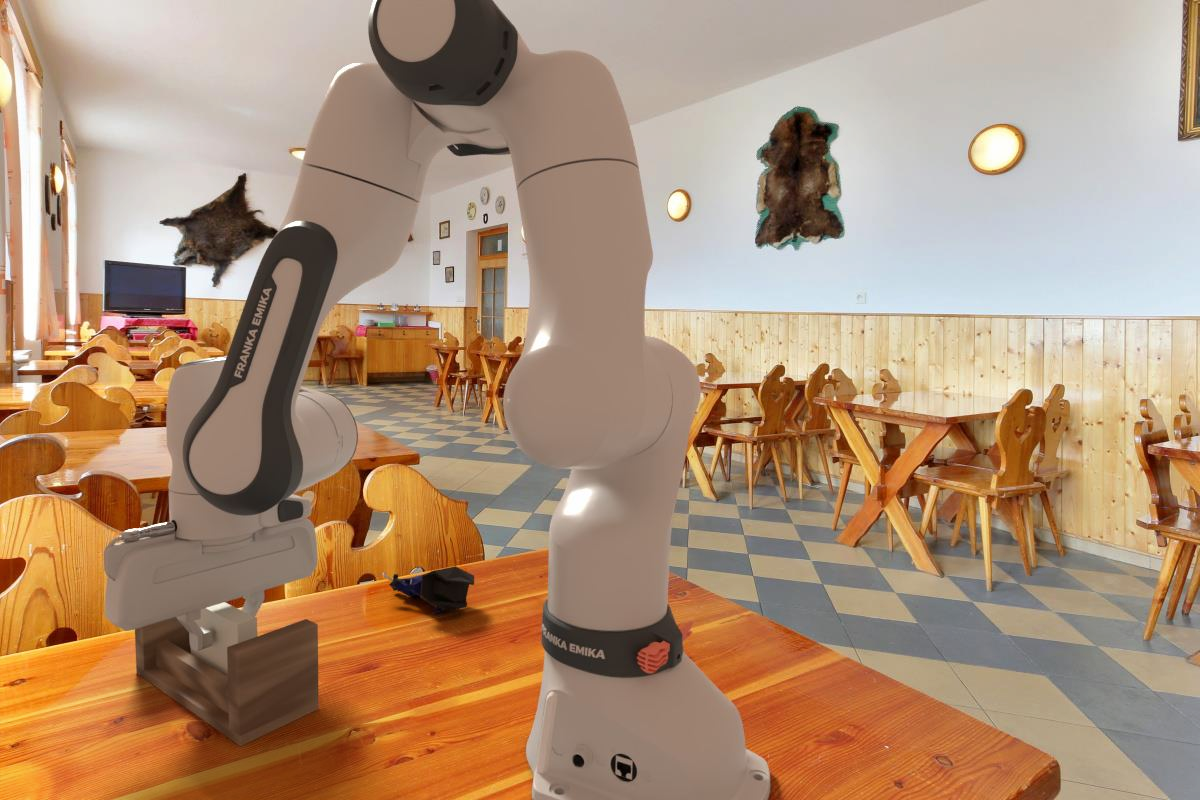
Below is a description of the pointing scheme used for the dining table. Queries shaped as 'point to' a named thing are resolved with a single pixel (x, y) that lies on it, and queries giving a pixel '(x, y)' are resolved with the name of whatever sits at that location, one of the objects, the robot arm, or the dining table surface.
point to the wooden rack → (236, 677)
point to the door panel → (224, 633)
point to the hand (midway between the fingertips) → (223, 640)
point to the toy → (437, 587)
